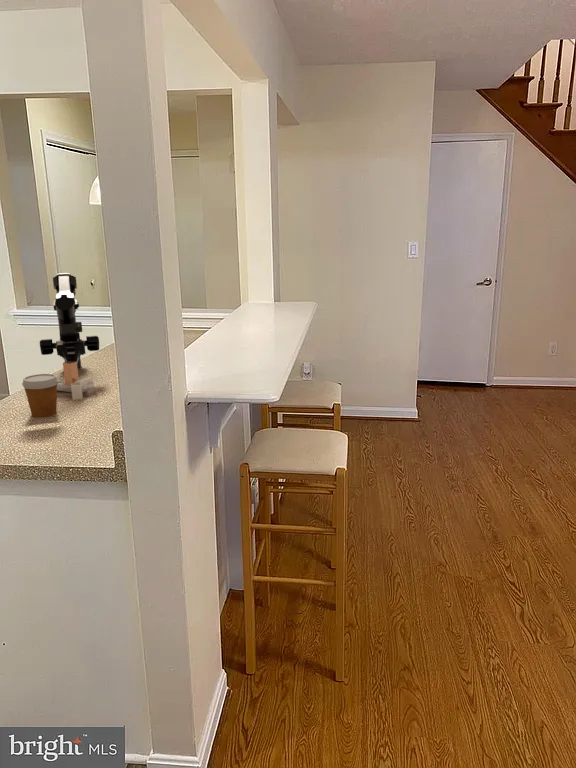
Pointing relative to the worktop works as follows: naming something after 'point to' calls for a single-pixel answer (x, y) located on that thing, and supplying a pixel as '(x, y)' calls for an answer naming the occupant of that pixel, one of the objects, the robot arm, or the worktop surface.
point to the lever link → (69, 377)
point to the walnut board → (88, 394)
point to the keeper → (78, 388)
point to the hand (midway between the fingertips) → (72, 366)
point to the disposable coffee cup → (41, 394)
